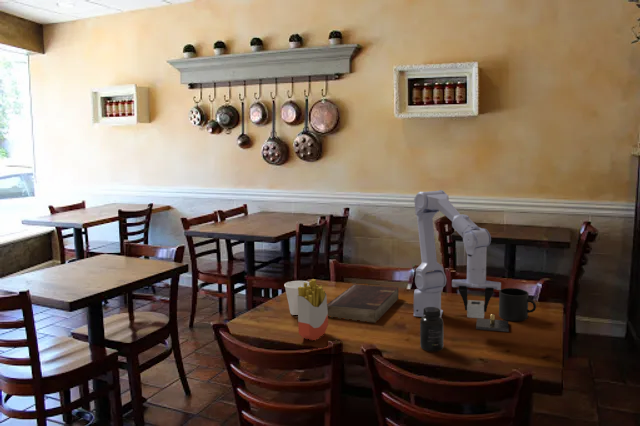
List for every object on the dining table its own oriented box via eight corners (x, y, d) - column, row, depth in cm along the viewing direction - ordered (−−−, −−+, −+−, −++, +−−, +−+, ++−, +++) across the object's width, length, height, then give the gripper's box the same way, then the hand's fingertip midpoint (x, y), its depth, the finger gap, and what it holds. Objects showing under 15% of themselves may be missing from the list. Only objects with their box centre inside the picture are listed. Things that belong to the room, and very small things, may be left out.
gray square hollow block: (467, 317, 163) (467, 304, 162) (468, 312, 167) (467, 300, 167) (484, 318, 161) (483, 305, 160) (484, 313, 166) (484, 300, 165)
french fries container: (329, 332, 171) (327, 279, 168) (310, 344, 162) (309, 287, 159) (317, 330, 173) (316, 277, 171) (298, 341, 164) (296, 285, 162)
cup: (280, 316, 188) (279, 286, 186) (292, 308, 197) (291, 279, 196) (305, 319, 184) (304, 289, 183) (316, 310, 193) (315, 281, 192)
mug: (533, 324, 174) (534, 298, 172) (496, 319, 180) (496, 293, 178) (537, 316, 182) (538, 290, 180) (502, 311, 188) (502, 286, 186)
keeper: (476, 329, 171) (476, 317, 170) (477, 321, 178) (477, 309, 178) (508, 332, 168) (508, 320, 167) (508, 323, 175) (508, 312, 174)
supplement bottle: (417, 343, 160) (417, 306, 158) (439, 342, 160) (439, 304, 159) (423, 352, 153) (423, 313, 151) (446, 351, 154) (446, 312, 152)
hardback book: (353, 295, 213) (353, 283, 212) (398, 299, 205) (398, 287, 205) (325, 317, 187) (324, 304, 186) (375, 324, 179) (375, 310, 179)
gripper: (451, 269, 161) (450, 312, 163) (501, 272, 156) (500, 316, 158) (453, 264, 167) (452, 305, 169) (501, 266, 163) (500, 308, 165)
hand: (475, 310), depth 164 cm, fingers closed on gray square hollow block, 5 cm apart
